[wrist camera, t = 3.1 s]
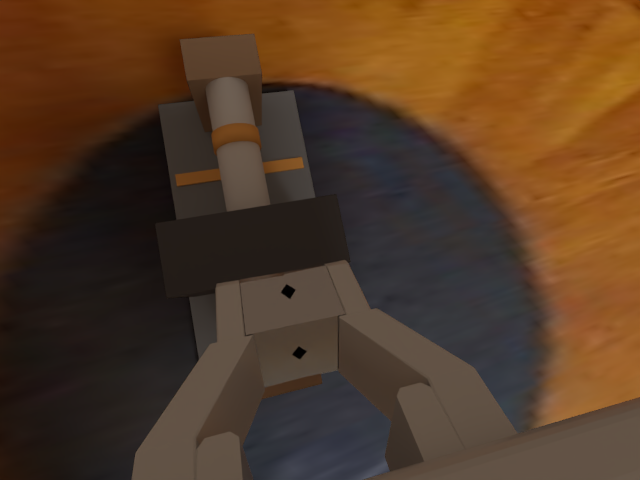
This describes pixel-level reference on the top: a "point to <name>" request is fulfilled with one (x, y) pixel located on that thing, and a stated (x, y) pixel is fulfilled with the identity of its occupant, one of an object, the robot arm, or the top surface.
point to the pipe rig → (232, 151)
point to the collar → (249, 244)
